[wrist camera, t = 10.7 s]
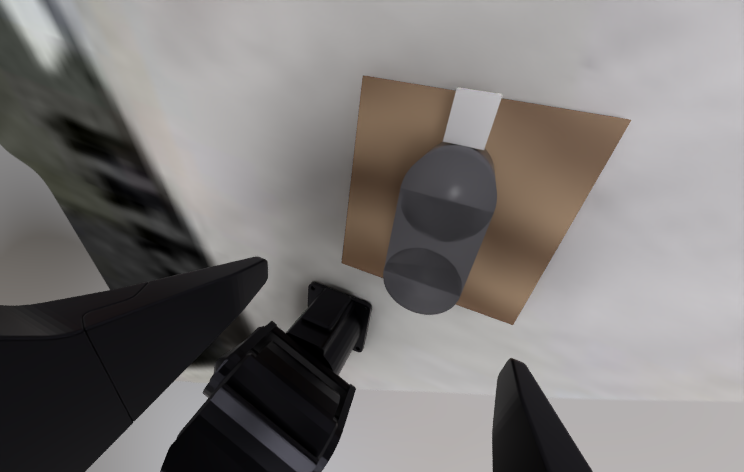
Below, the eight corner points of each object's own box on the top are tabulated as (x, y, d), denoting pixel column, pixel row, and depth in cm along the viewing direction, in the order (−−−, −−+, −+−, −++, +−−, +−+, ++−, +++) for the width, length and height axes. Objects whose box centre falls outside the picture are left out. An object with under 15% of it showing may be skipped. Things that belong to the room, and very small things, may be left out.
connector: (456, 278, 20) (448, 325, 16) (399, 259, 21) (377, 298, 17) (524, 99, 14) (540, 98, 10) (440, 86, 15) (422, 80, 11)
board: (512, 317, 20) (512, 324, 20) (345, 258, 24) (341, 263, 23) (624, 119, 14) (631, 119, 13) (367, 76, 17) (362, 75, 16)
